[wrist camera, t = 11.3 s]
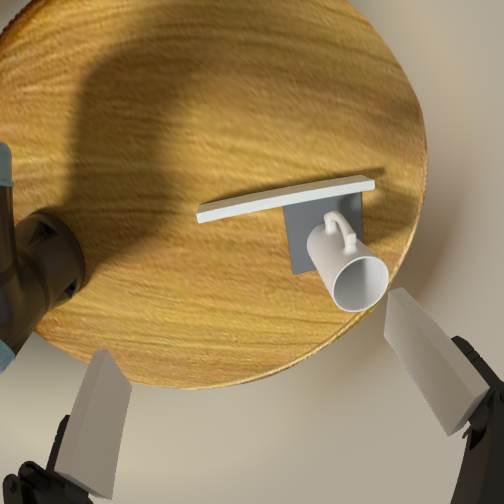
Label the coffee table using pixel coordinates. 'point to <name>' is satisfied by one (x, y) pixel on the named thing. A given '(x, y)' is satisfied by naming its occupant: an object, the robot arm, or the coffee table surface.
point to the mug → (346, 264)
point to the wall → (283, 197)
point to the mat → (311, 215)
